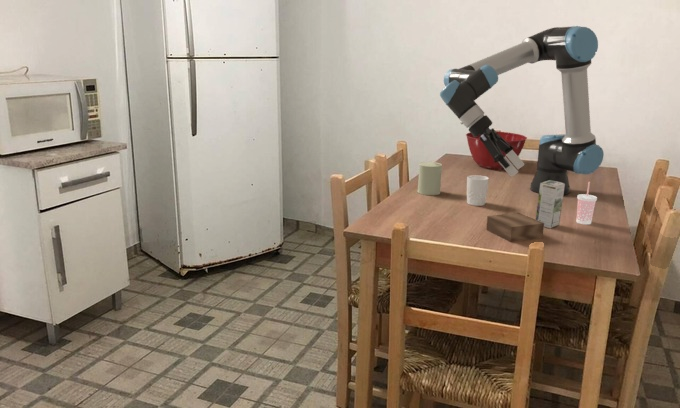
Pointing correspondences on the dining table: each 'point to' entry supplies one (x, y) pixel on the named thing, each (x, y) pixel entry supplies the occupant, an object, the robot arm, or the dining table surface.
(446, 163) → the dining table surface
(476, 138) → the mixing bowl
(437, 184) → the can
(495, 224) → the walnut block
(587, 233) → the dining table surface
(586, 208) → the beverage cup
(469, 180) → the white cup
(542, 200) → the drink carton
